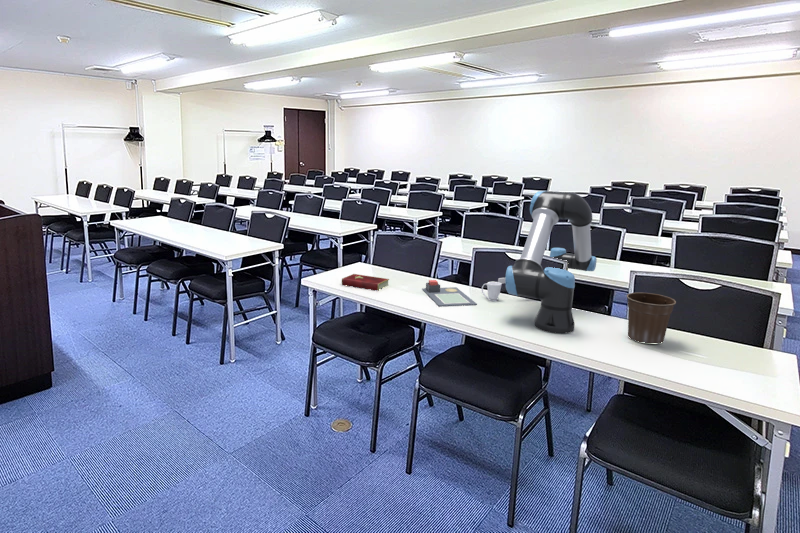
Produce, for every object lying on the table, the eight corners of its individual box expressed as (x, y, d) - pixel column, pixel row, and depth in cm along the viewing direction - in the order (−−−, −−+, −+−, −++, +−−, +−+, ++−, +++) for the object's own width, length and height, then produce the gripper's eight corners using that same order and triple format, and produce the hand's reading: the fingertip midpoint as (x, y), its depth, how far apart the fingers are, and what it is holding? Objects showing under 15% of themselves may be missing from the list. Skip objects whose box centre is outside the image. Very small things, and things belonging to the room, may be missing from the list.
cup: (495, 302, 220) (497, 286, 218) (477, 298, 227) (478, 281, 225) (503, 299, 225) (504, 283, 224) (485, 295, 232) (486, 279, 230)
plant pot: (625, 344, 175) (631, 301, 171) (617, 329, 190) (623, 290, 186) (674, 349, 171) (681, 306, 167) (663, 334, 186) (669, 294, 182)
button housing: (439, 292, 233) (440, 285, 232) (428, 292, 232) (429, 285, 231) (436, 289, 238) (436, 282, 237) (425, 289, 237) (426, 282, 236)
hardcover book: (378, 292, 234) (378, 283, 233) (341, 286, 243) (341, 278, 242) (389, 286, 245) (389, 278, 244) (353, 281, 253) (353, 273, 252)
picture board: (476, 305, 216) (477, 303, 216) (438, 306, 212) (438, 304, 212) (456, 288, 243) (456, 286, 243) (422, 289, 239) (422, 288, 239)
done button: (437, 287, 233) (437, 281, 232) (430, 288, 232) (430, 282, 232) (435, 285, 236) (435, 280, 236) (428, 286, 236) (428, 280, 235)
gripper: (558, 294, 229) (524, 299, 219) (523, 281, 250) (490, 285, 241) (560, 279, 227) (526, 283, 218) (524, 267, 249) (491, 271, 239)
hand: (507, 284), depth 229 cm, fingers open, 13 cm apart
